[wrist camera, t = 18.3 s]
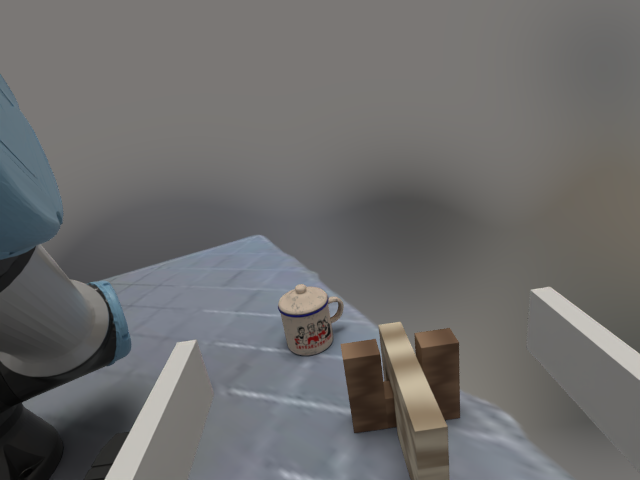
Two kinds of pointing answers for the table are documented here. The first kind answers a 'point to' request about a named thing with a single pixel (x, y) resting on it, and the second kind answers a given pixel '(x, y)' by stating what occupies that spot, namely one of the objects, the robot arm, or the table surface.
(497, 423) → the table surface
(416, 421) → the birch board
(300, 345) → the teacup with lid
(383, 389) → the brown wooden u block
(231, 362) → the table surface
